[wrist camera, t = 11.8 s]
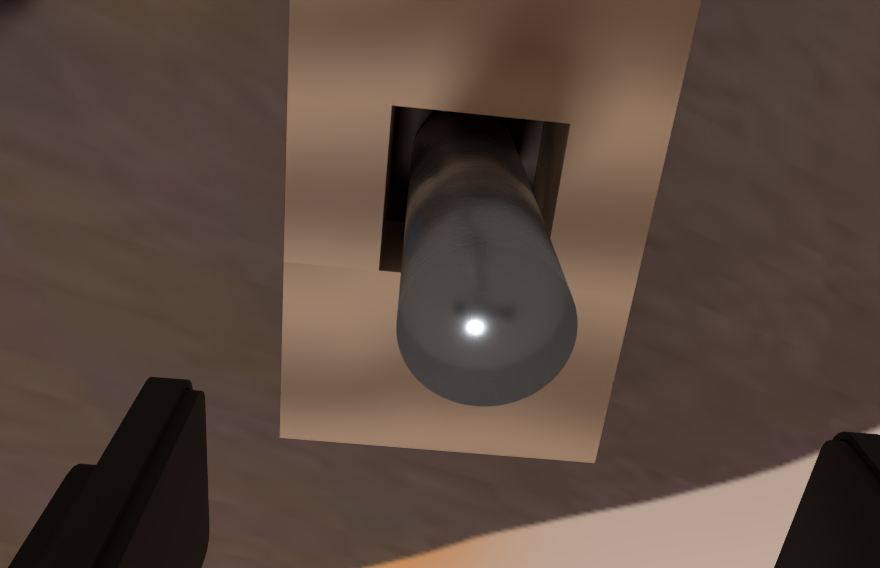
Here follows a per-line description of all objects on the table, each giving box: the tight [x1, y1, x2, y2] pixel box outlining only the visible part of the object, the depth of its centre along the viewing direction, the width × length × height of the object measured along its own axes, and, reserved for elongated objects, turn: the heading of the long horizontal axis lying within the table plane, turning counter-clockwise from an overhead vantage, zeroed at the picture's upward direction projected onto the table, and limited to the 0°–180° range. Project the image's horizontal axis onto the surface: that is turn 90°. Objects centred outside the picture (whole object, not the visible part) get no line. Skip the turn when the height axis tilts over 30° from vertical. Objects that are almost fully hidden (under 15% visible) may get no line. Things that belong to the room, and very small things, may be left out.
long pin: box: [396, 111, 578, 407], centre depth 23 cm, size 4×4×14 cm
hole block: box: [280, 0, 701, 463], centre depth 28 cm, size 20×12×5 cm, turn 174°
